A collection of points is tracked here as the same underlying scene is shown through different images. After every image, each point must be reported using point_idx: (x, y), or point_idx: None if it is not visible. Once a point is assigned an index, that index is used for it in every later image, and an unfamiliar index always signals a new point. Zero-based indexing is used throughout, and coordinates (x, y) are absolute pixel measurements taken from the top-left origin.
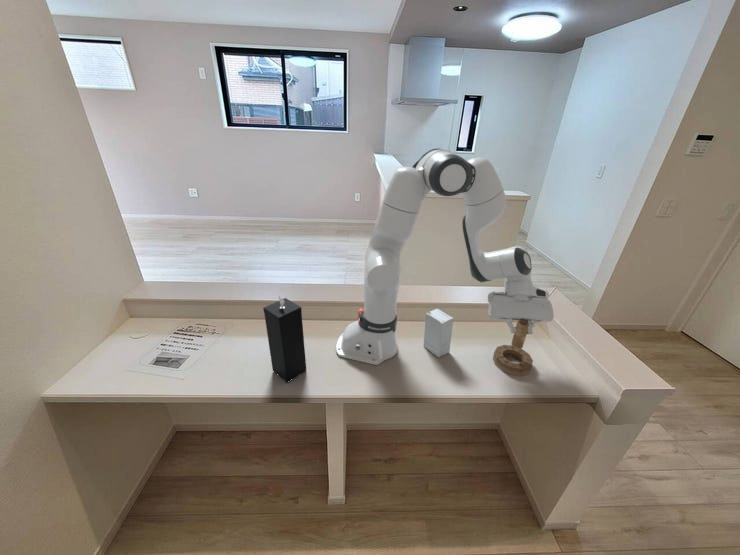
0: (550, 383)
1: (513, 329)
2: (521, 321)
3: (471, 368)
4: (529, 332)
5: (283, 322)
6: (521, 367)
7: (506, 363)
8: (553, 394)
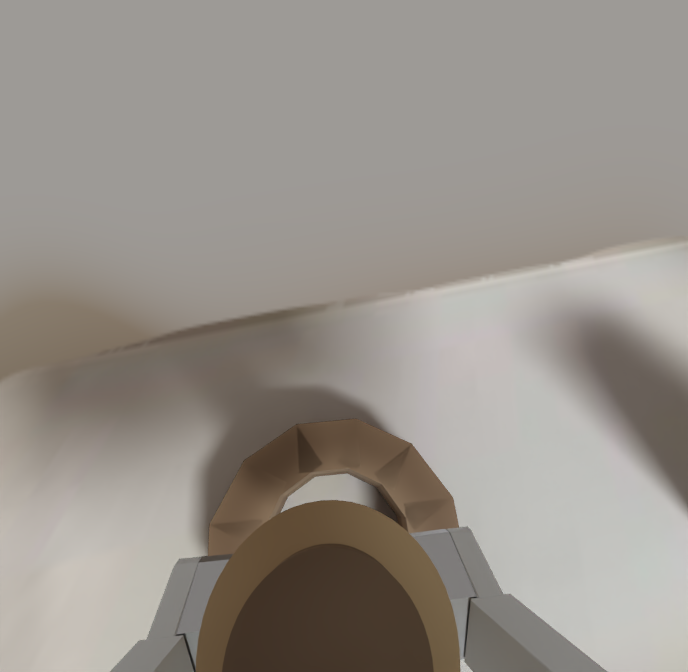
0: (168, 408)
1: (463, 557)
2: (408, 600)
3: (562, 430)
4: (221, 560)
5: None
6: (309, 432)
7: (395, 450)
8: (190, 338)
